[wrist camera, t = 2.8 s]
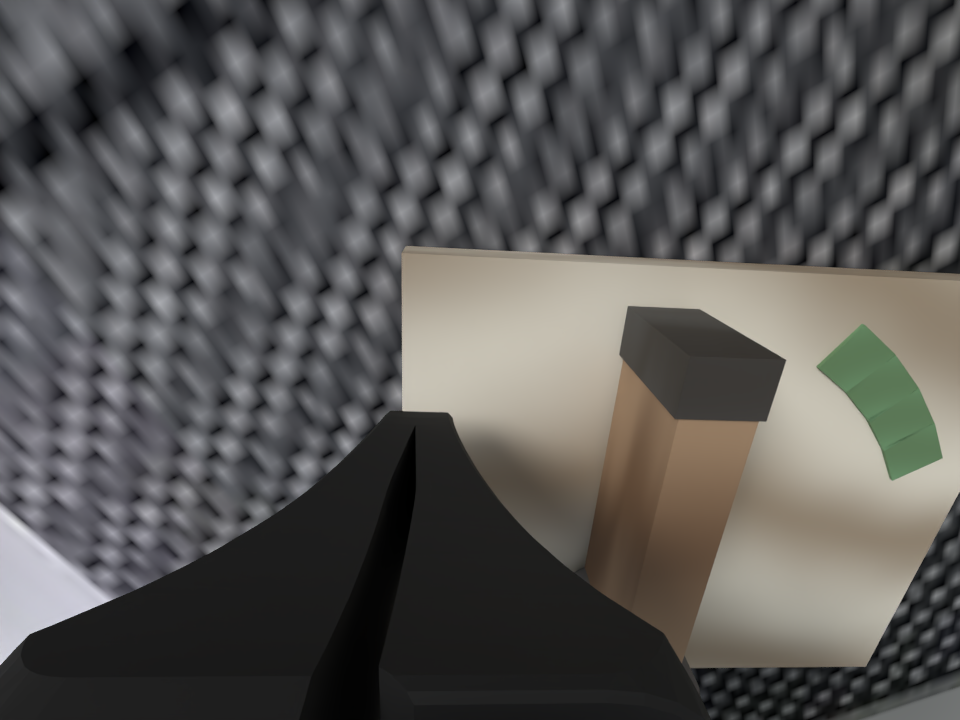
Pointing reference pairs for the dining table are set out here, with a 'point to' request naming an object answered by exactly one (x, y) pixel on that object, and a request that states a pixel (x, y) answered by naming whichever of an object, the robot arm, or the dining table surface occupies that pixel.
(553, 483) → the dial board
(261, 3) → the dining table surface
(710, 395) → the pointer lever
